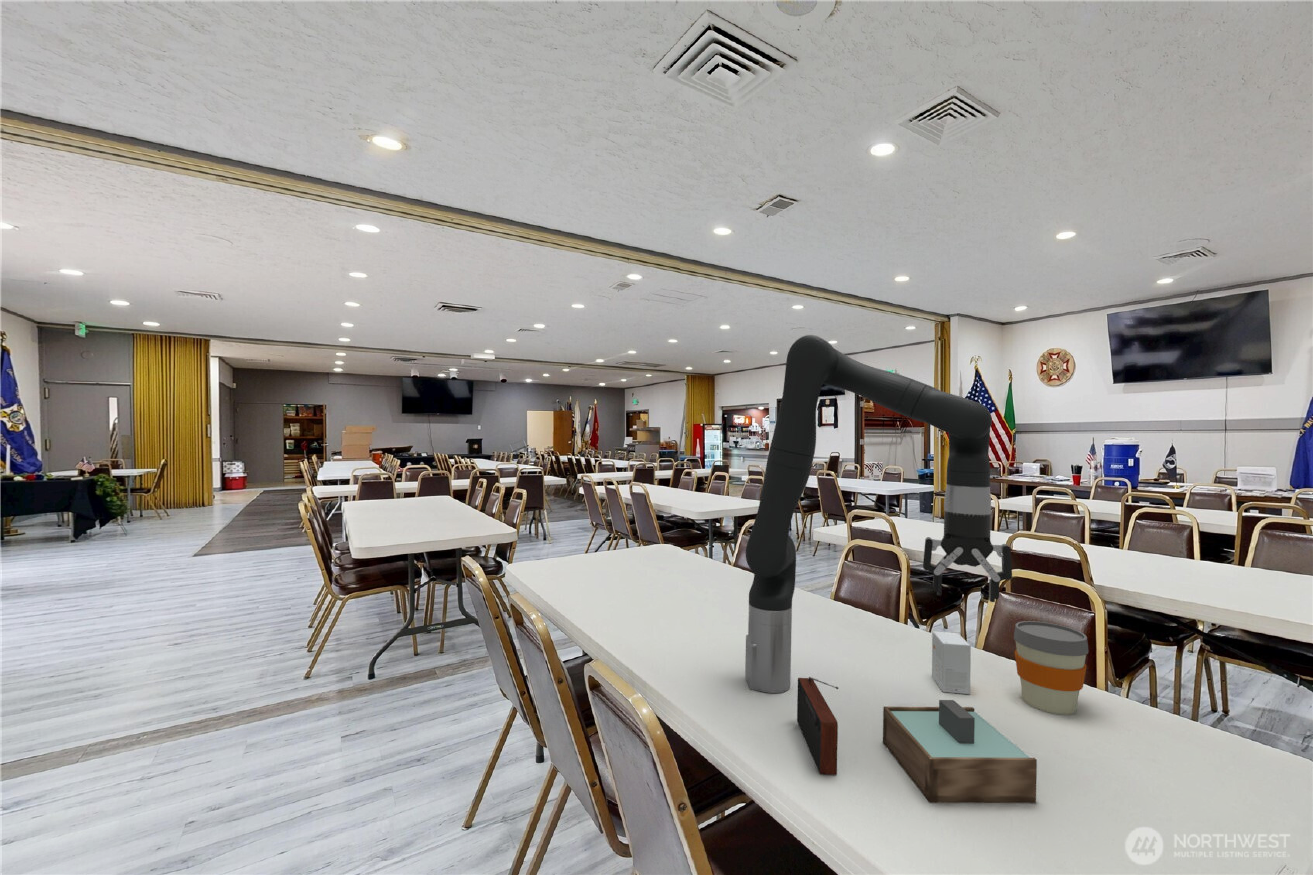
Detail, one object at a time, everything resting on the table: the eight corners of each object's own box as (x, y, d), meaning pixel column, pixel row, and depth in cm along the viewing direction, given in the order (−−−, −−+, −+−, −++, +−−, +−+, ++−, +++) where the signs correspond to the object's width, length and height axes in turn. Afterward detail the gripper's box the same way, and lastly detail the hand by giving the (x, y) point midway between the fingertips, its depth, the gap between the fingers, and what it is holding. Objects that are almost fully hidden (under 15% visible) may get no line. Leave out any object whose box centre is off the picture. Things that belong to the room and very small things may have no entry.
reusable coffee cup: (1066, 724, 106) (1067, 646, 105) (999, 696, 117) (1000, 625, 117) (1100, 710, 111) (1101, 636, 111) (1033, 685, 122) (1035, 617, 122)
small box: (970, 695, 117) (971, 645, 117) (941, 692, 118) (942, 643, 118) (958, 679, 125) (958, 632, 125) (931, 676, 126) (932, 630, 126)
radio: (794, 722, 105) (796, 642, 105) (811, 722, 105) (812, 643, 105) (820, 783, 86) (822, 686, 86) (840, 784, 86) (842, 687, 86)
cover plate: (933, 765, 83) (934, 731, 83) (890, 716, 97) (890, 688, 97) (1032, 765, 83) (1032, 732, 83) (974, 717, 98) (975, 688, 98)
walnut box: (929, 802, 82) (930, 759, 82) (882, 742, 98) (883, 706, 98) (1036, 802, 82) (1036, 759, 82) (972, 743, 98) (972, 707, 98)
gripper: (924, 509, 102) (922, 597, 102) (1016, 515, 96) (1013, 609, 96) (924, 505, 109) (922, 587, 109) (1009, 510, 103) (1007, 598, 103)
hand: (965, 597), depth 103 cm, fingers open, 8 cm apart
